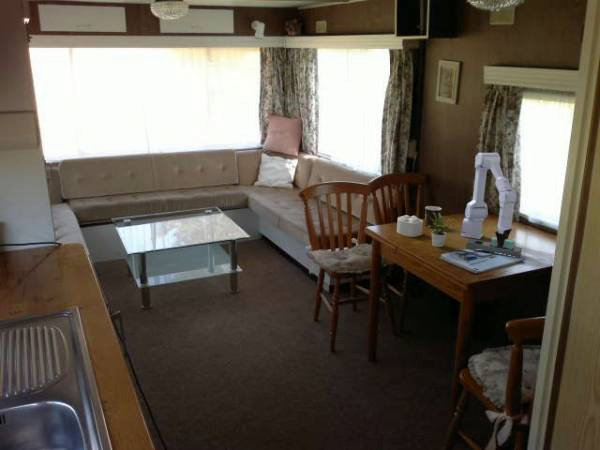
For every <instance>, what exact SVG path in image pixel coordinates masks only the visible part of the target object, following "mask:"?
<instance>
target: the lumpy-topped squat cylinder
mask: <svg viewBox="0 0 600 450" xmlns="http://www.w3.org/2000/svg"><path fill="white" fill-rule="evenodd" d="M396 224H397V225H396V233H398V234H399V235H402V236H405V237H410V238H415V237H418V236H421V235H423V227H424V220H423V219H421V218H418V217H417V216H416V215H412V216H410V215H408V214H405V215H402V216H398V217H397V223H396Z"/></svg>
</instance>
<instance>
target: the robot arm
mask: <svg viewBox="0 0 600 450" xmlns="http://www.w3.org/2000/svg"><path fill="white" fill-rule="evenodd" d="M500 164H501V156H500V154H499V153H498V152H478V153H477V154H476V155H475V161H474V168H475V176H474V183H473V185H474V186H473V193H472V194H473V195H472V200H471V201H469V202H468V203H467V204H466V208H465V211H464V215H465V217H464V218H463V220H462V226H461V235H460V237H467V238H471V239H475V240H476V239H477V240H480V239H481V238H482V237H483V236H484V234H482V231H483V224H484V223H483V222H484V221H485V219H486V218H487V217H488V214H489V211H488V204H487V203H486V202H485V201H484V200H485V191H486V181H487V173H488V170H490V171H491V173H492V175H493V177H494V179H495V183H494V184H495V187H496V189H497V191H498V194H499V195H498V200H499V207H500V208H499V214H498V215H499V216H498V223H497V225H496V226H497V229H498V230H496V231H494V234H495V236H496V237H495V238H497V244H498V247H503V245H504V242H505V239H506V240H509V239H508V238H509V236H510V233H511V232H512V231H513V229H514V228H515V227H514V226H513V225H512V222H513V215H514V208H515V203H518V199H519V195H518V192H517V191H516V190H515V189H514V188H512V186H511V184H510V182H509V179H508V178H507V177H505V176H504V173H503V171H502V168H501V165H500Z"/></svg>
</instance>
